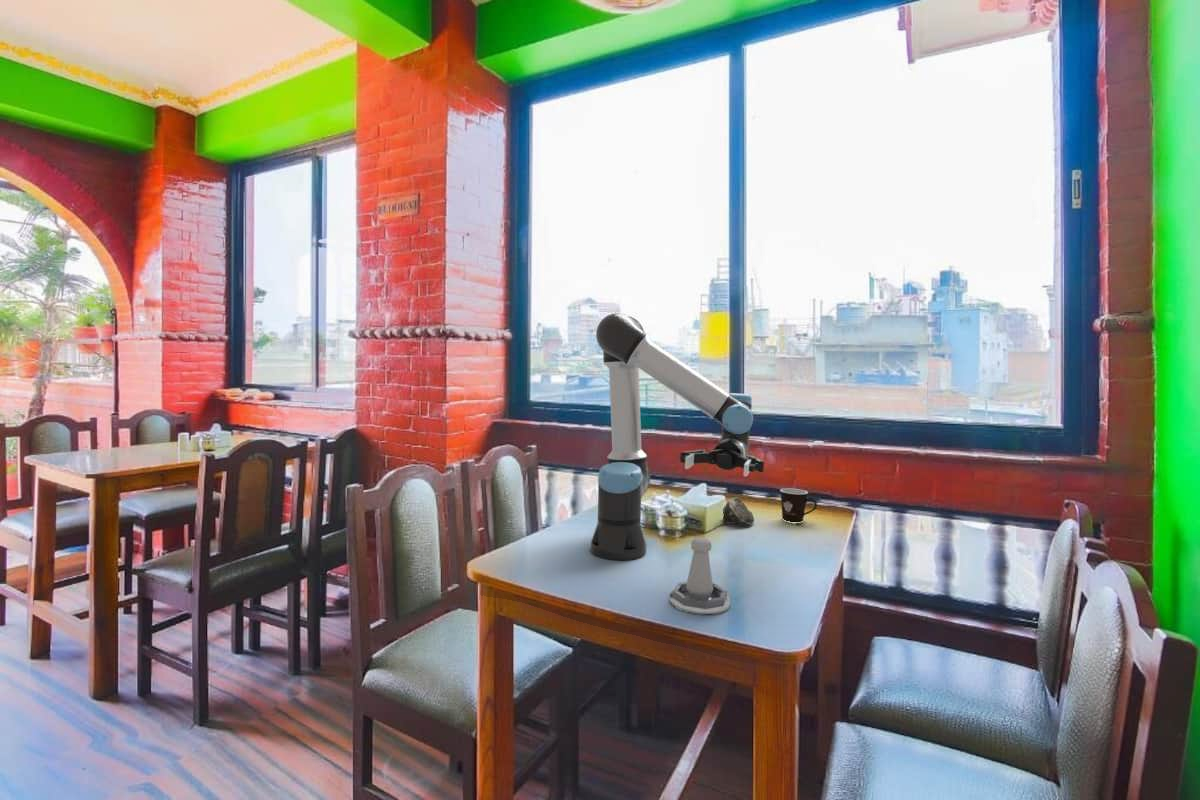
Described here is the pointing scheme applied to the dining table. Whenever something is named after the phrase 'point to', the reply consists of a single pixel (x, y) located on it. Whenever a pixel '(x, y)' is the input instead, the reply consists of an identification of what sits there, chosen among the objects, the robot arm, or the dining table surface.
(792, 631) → the dining table surface
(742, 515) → the fossil
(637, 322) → the robot arm
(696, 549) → the salt shaker
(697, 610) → the steel collar
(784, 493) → the coffee mug
